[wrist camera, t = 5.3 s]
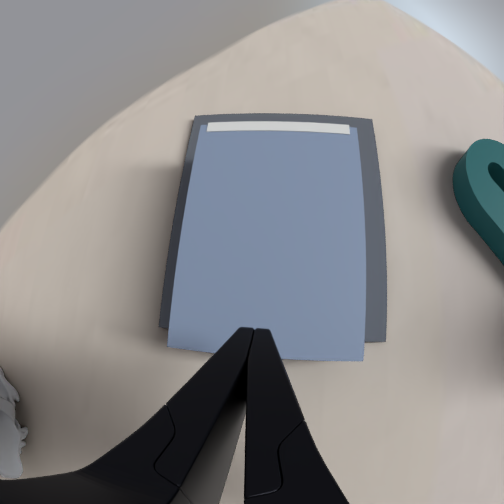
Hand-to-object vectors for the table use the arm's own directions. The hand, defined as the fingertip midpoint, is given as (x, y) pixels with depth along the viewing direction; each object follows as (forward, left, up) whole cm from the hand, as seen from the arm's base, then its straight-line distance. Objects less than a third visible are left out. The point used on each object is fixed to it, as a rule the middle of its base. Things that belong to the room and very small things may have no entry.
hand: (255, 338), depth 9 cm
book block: (-1, 0, -5) cm, 5 cm away
